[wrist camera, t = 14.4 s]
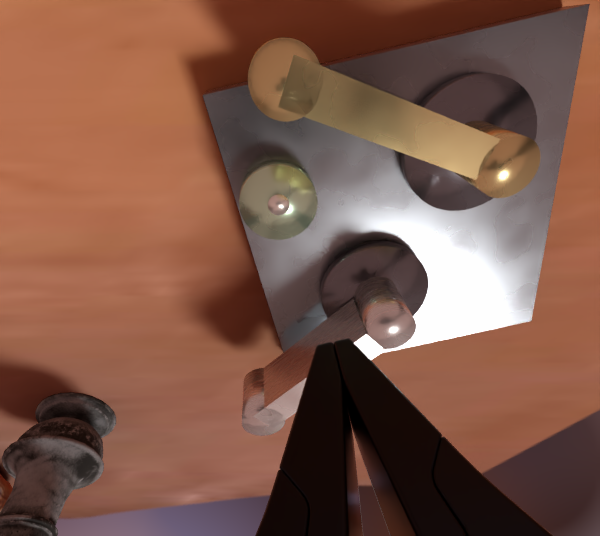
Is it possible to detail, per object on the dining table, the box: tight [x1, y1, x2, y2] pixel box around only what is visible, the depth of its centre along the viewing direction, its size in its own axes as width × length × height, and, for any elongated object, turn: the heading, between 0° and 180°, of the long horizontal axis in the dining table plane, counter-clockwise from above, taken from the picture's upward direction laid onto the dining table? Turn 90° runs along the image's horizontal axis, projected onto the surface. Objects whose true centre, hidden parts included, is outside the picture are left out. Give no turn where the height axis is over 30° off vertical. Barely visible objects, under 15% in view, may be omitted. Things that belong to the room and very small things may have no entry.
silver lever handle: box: [242, 241, 429, 436], centre depth 21 cm, size 13×6×4 cm, turn 133°
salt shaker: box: [0, 393, 116, 536], centre depth 22 cm, size 6×6×12 cm
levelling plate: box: [203, 4, 589, 353], centre depth 20 cm, size 16×17×2 cm
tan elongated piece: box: [248, 38, 541, 211], centre depth 15 cm, size 13×6×4 cm, turn 70°
